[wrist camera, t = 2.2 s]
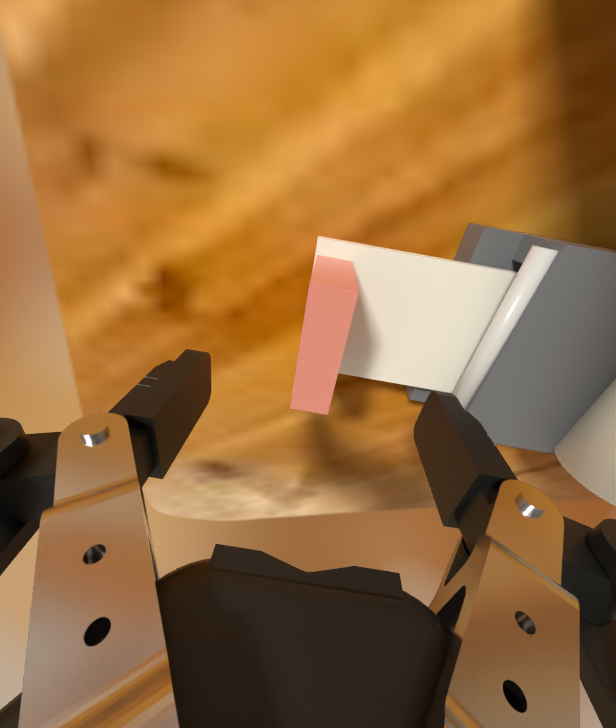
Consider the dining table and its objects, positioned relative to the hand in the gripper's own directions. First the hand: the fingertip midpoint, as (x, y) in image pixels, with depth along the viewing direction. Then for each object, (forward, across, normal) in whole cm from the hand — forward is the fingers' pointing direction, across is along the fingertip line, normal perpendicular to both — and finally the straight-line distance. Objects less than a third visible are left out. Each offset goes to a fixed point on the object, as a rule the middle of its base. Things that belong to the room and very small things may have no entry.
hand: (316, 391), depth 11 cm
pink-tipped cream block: (+7, -9, -1) cm, 12 cm away
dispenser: (+10, -14, -1) cm, 17 cm away
